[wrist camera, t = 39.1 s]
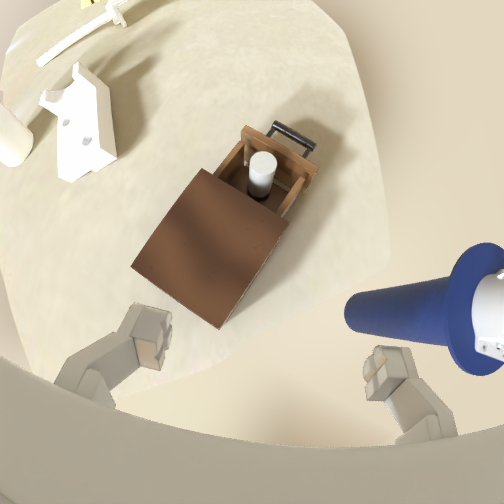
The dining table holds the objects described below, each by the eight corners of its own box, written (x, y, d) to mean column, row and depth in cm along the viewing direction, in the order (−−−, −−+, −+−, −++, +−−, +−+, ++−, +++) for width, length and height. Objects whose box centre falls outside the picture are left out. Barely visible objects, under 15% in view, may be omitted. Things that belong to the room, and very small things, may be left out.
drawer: (261, 131, 46) (265, 102, 39) (321, 167, 45) (335, 142, 38) (193, 220, 43) (184, 201, 35) (259, 263, 42) (263, 253, 35)
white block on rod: (144, -10, 44) (30, 63, 44) (154, 14, 52) (47, 80, 52) (136, -20, 45) (31, 47, 45) (146, 2, 54) (47, 63, 54)
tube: (274, 188, 43) (283, 159, 34) (262, 206, 43) (268, 180, 34) (255, 176, 43) (259, 145, 35) (242, 193, 43) (243, 165, 34)
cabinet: (208, 195, 45) (201, 167, 35) (279, 240, 44) (289, 222, 34) (152, 275, 42) (130, 266, 33) (223, 325, 41) (219, 330, 32)
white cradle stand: (73, 113, 49) (41, 91, 38) (109, 88, 47) (78, 61, 37) (76, 184, 46) (35, 167, 35) (117, 158, 44) (77, 134, 34)
